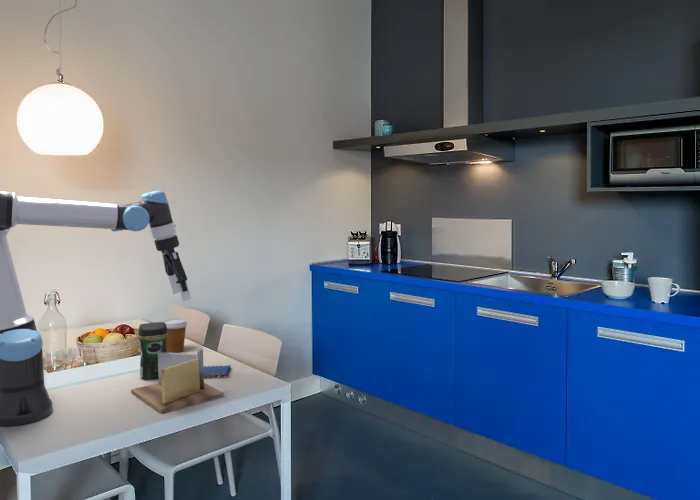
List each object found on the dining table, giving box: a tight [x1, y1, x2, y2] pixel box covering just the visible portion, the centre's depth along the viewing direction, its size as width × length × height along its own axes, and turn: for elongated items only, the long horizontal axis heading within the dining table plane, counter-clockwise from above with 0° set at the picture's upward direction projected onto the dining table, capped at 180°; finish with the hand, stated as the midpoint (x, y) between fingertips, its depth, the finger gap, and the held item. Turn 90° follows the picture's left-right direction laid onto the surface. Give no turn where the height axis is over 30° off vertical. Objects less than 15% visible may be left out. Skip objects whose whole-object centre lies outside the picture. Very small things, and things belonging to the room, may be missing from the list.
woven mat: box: [203, 364, 232, 380], centre depth 193 cm, size 10×11×2 cm
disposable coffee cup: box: [162, 318, 188, 353], centre depth 221 cm, size 10×10×12 cm
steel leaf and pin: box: [158, 348, 205, 390], centre depth 177 cm, size 16×3×14 cm, turn 77°
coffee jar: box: [137, 321, 168, 380], centre depth 190 cm, size 10×8×19 cm
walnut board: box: [130, 382, 225, 414], centre depth 173 cm, size 20×22×1 cm
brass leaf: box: [161, 358, 200, 404], centre depth 167 cm, size 13×1×10 cm, turn 147°
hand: (182, 296), depth 192 cm, fingers open, 13 cm apart
